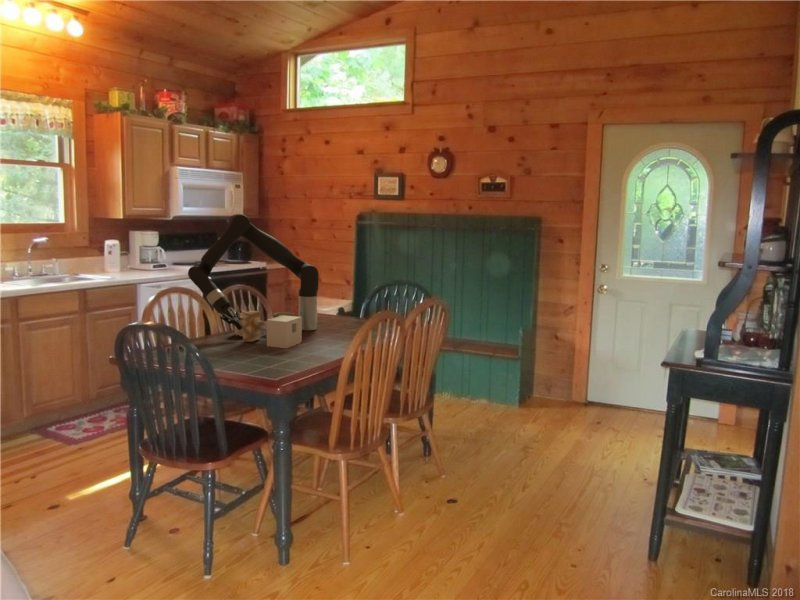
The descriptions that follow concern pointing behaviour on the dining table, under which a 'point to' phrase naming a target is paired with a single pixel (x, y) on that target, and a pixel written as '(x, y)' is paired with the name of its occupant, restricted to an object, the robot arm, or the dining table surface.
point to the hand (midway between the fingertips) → (241, 328)
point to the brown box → (252, 326)
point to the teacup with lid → (240, 332)
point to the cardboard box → (284, 331)
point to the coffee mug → (282, 314)
